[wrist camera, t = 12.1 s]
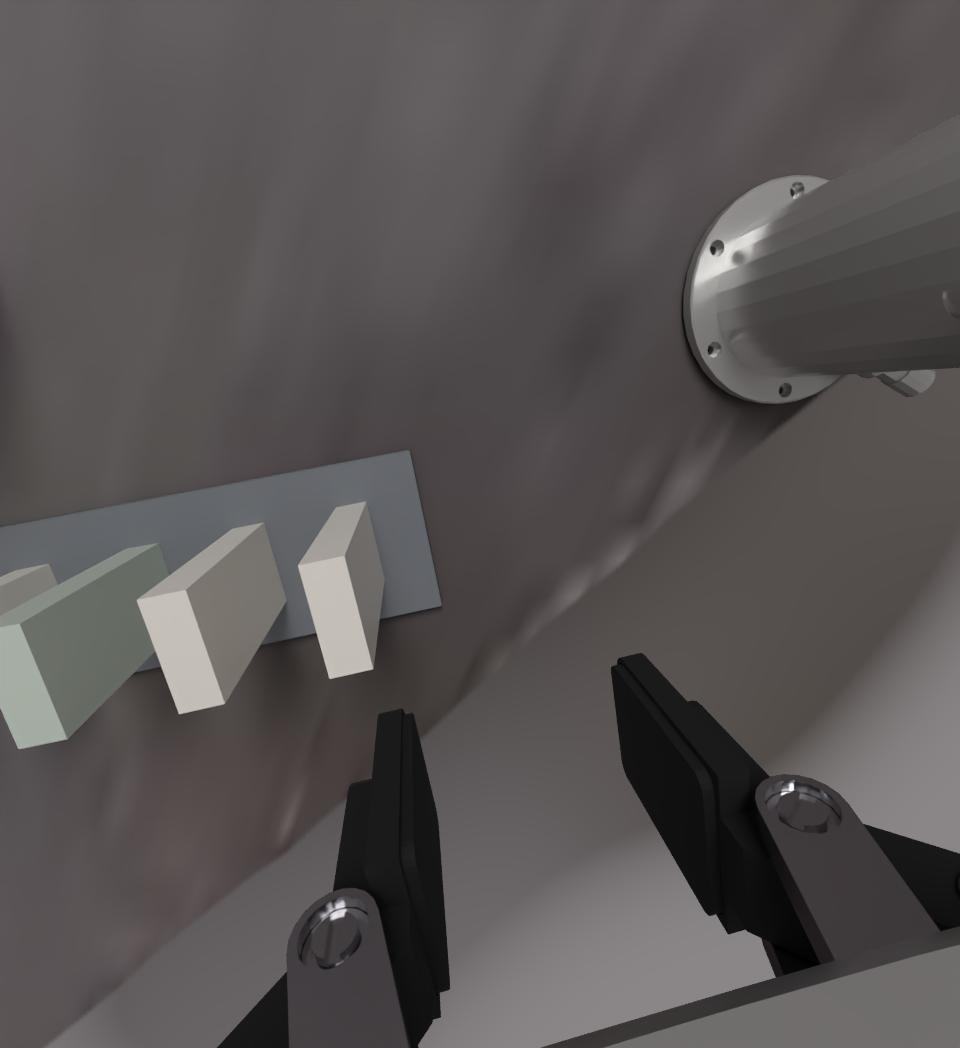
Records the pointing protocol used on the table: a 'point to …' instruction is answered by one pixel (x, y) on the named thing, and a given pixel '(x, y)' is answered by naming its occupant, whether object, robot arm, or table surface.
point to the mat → (277, 501)
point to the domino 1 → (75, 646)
